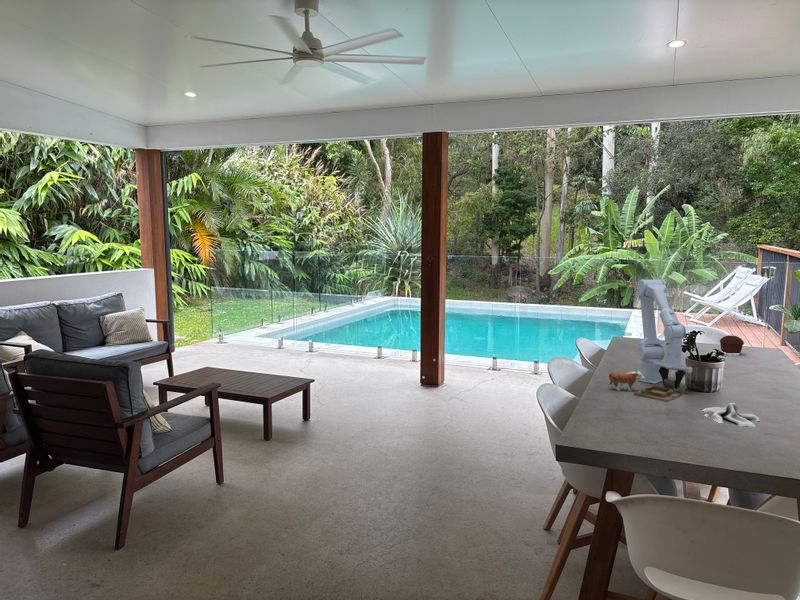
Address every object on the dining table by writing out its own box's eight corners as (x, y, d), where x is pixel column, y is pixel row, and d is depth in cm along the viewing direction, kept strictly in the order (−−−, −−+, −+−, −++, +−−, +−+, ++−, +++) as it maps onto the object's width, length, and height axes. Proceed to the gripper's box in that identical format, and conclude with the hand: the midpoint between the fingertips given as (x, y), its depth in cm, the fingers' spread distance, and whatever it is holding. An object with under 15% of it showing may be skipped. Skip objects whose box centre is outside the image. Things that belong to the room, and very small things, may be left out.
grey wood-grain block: (668, 388, 236) (669, 376, 235) (678, 390, 233) (679, 378, 233) (663, 390, 233) (664, 378, 232) (673, 392, 230) (674, 380, 229)
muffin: (716, 354, 310) (718, 336, 309) (720, 351, 319) (721, 333, 318) (742, 357, 303) (743, 338, 302) (744, 354, 311) (746, 335, 310)
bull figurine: (644, 392, 230) (645, 372, 229) (609, 390, 233) (609, 370, 232) (642, 389, 234) (643, 370, 233) (607, 388, 237) (608, 368, 236)
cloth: (704, 408, 211) (705, 391, 211) (763, 418, 200) (765, 400, 199) (690, 422, 194) (692, 405, 193) (755, 434, 183) (756, 416, 182)
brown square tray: (647, 389, 235) (648, 384, 235) (680, 395, 226) (681, 390, 226) (633, 395, 226) (634, 389, 226) (667, 401, 217) (667, 396, 217)
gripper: (650, 352, 234) (649, 385, 235) (688, 358, 223) (686, 392, 225) (658, 350, 239) (656, 382, 240) (695, 356, 228) (693, 389, 230)
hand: (671, 387), depth 233 cm, fingers closed on grey wood-grain block, 4 cm apart
